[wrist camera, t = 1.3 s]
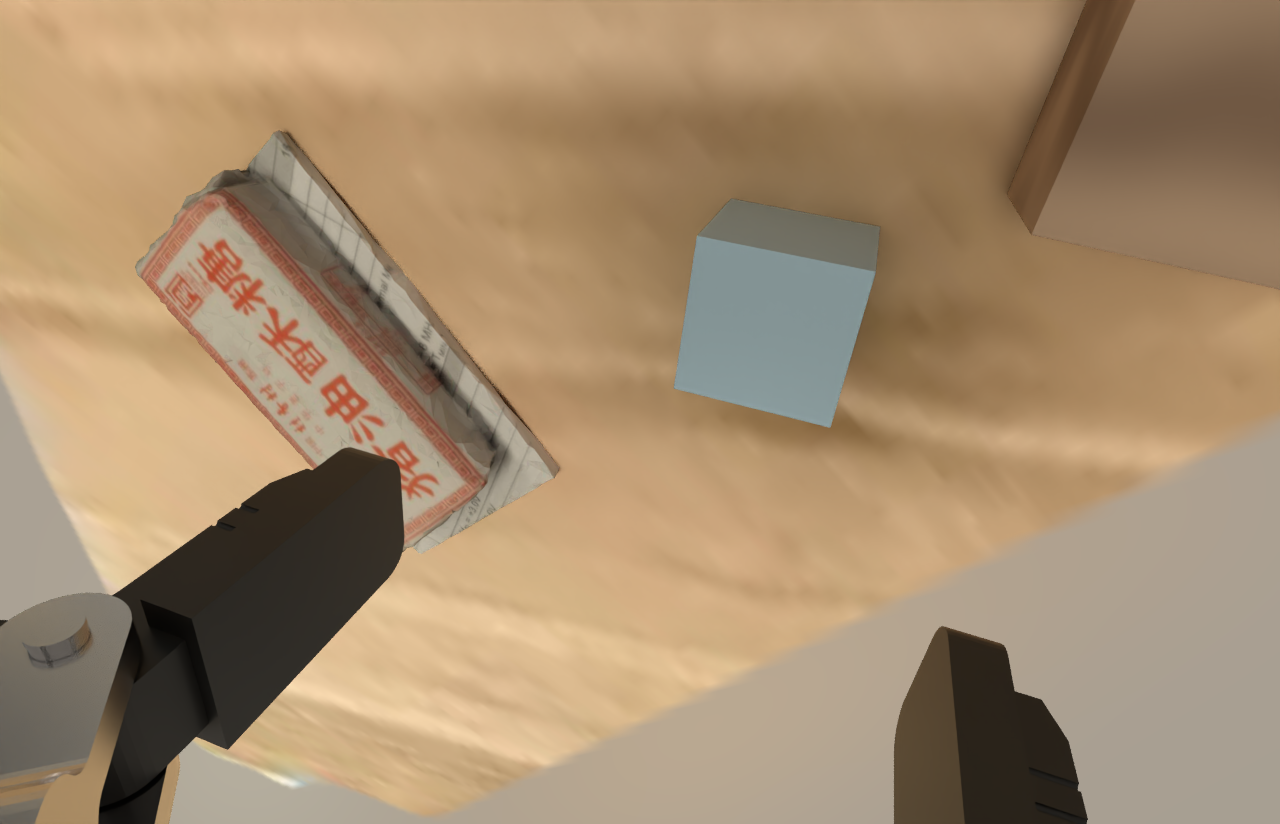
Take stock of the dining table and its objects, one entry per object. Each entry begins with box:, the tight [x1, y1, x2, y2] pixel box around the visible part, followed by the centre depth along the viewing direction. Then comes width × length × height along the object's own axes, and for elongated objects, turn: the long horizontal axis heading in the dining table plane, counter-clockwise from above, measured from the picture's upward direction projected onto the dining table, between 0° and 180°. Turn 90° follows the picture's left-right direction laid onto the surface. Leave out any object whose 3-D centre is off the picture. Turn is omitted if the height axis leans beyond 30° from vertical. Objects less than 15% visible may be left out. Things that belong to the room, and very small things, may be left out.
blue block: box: [674, 199, 880, 427], centre depth 23 cm, size 5×5×5 cm
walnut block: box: [1007, 0, 1280, 289], centre depth 17 cm, size 8×8×5 cm
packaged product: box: [135, 131, 559, 554], centre depth 31 cm, size 18×5×10 cm
